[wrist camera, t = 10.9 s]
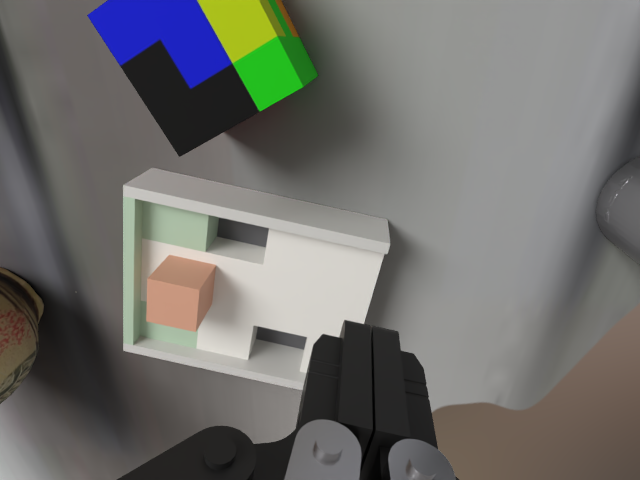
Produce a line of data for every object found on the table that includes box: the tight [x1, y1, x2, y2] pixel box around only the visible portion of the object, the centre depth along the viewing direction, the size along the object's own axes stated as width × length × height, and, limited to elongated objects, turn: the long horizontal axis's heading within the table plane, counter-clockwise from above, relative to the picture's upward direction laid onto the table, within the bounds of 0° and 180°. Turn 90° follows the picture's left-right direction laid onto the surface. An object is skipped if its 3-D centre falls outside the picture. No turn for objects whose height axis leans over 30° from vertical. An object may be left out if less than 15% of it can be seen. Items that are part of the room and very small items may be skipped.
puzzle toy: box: [87, 0, 318, 157], centre depth 32 cm, size 10×10×10 cm
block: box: [146, 255, 216, 332], centre depth 39 cm, size 4×4×4 cm
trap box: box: [123, 168, 390, 390], centre depth 43 cm, size 23×18×6 cm
